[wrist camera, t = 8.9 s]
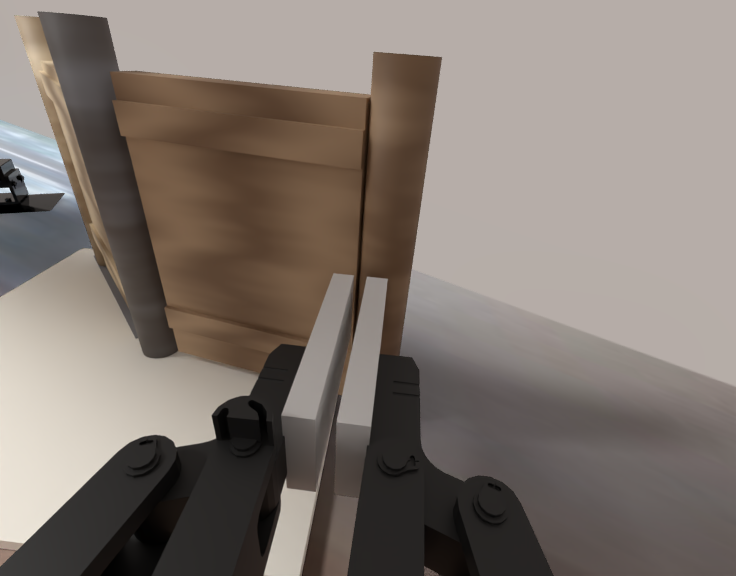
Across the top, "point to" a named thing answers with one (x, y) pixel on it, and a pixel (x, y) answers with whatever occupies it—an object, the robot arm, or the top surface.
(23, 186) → the black blocky piece
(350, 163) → the panel
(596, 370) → the top surface
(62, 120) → the fixed fence section
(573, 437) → the top surface
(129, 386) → the card
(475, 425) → the top surface
